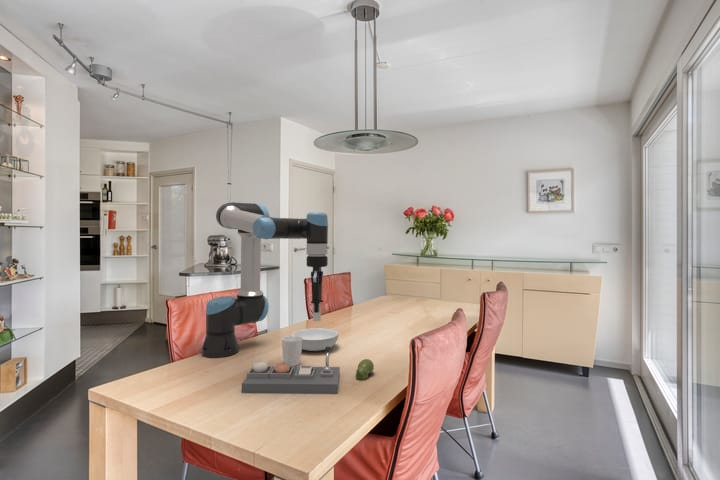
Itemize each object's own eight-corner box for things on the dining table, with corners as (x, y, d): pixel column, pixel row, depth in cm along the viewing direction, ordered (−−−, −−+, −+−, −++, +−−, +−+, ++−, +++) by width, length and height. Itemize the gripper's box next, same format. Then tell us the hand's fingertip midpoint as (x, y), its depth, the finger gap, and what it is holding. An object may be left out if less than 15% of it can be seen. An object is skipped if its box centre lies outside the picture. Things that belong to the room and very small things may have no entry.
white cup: (297, 367, 148) (297, 341, 148) (278, 365, 150) (278, 340, 149) (304, 360, 156) (304, 336, 156) (286, 359, 157) (286, 335, 157)
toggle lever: (323, 371, 133) (324, 346, 137) (330, 371, 133) (331, 346, 137) (323, 371, 131) (324, 345, 135) (330, 371, 131) (331, 345, 135)
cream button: (255, 367, 135) (255, 360, 135) (269, 367, 135) (269, 360, 135) (251, 372, 130) (251, 365, 130) (265, 373, 130) (265, 365, 130)
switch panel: (254, 374, 141) (254, 361, 140) (339, 375, 141) (339, 362, 141) (241, 392, 125) (241, 378, 124) (337, 393, 125) (337, 379, 125)
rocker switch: (300, 368, 135) (300, 365, 135) (311, 368, 135) (311, 365, 135) (298, 376, 130) (298, 373, 130) (310, 376, 130) (310, 374, 130)
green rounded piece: (375, 357, 144) (366, 371, 134) (376, 370, 145) (366, 384, 135) (361, 355, 146) (351, 368, 137) (362, 368, 147) (352, 382, 138)
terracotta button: (276, 370, 135) (276, 363, 135) (290, 370, 135) (290, 363, 135) (273, 376, 130) (273, 368, 130) (288, 376, 130) (288, 368, 130)
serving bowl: (341, 342, 182) (341, 328, 182) (334, 357, 161) (334, 340, 161) (298, 340, 184) (298, 326, 184) (285, 354, 163) (285, 338, 163)
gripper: (325, 256, 131) (325, 325, 132) (329, 254, 144) (329, 317, 145) (303, 256, 132) (303, 325, 132) (309, 254, 145) (309, 316, 145)
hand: (316, 320), depth 138 cm, fingers closed
